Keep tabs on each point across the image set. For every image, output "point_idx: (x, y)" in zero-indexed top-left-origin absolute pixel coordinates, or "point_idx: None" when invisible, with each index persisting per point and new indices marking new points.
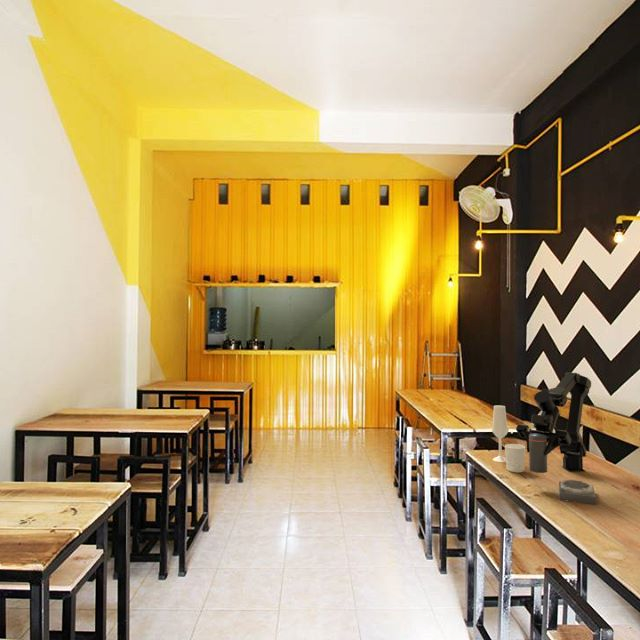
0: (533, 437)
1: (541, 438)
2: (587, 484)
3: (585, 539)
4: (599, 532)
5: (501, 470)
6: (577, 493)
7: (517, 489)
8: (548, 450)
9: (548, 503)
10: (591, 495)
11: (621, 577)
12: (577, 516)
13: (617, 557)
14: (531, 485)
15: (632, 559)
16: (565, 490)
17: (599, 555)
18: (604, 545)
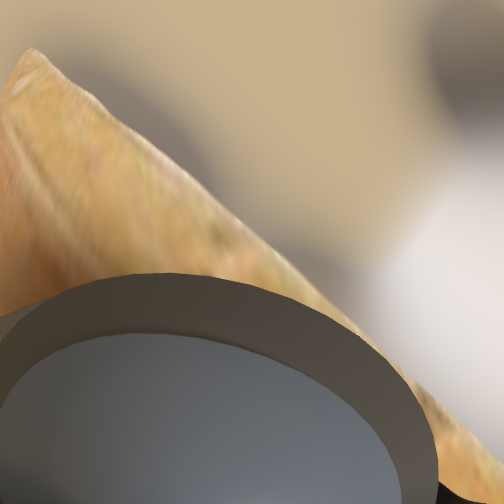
0: (202, 283)
1: (20, 350)
2: None
3: (48, 90)
4: (20, 132)
5: (446, 474)
6: None
7: (299, 302)
8: None
9: (133, 222)
10: (8, 329)
11: (32, 50)
12: (49, 179)
13: (20, 80)
14: None
15: (4, 90)
16: None
17: (40, 67)
18: (25, 95)
